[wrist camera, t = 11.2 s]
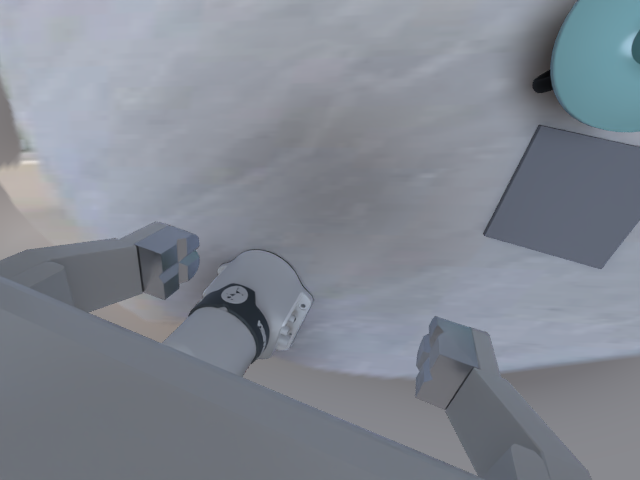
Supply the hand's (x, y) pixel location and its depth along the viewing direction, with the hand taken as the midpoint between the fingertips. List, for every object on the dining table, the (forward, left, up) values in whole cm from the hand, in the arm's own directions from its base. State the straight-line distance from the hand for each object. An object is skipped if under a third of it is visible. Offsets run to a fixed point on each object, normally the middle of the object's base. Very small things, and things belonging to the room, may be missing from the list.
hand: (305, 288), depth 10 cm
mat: (-2, -22, -34) cm, 41 cm away
